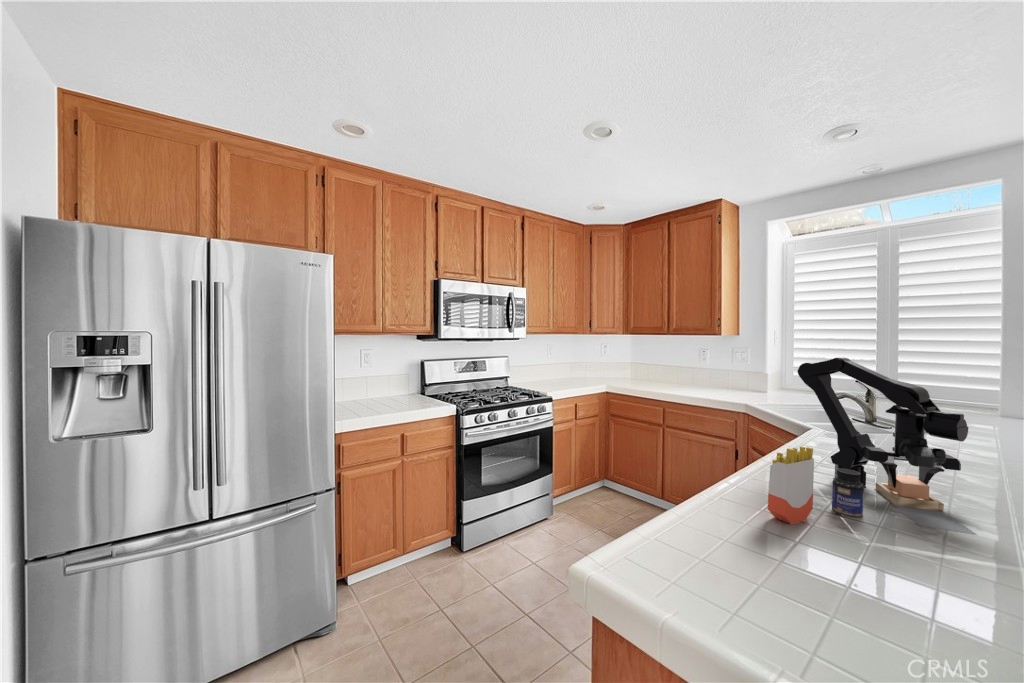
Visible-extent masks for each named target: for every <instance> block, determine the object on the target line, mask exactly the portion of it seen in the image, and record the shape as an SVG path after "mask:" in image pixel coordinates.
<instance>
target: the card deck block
mask: <svg viewBox="0 0 1024 683" xmlns="http://www.w3.org/2000/svg"><path fill="white" fill-rule="evenodd" d="M887 484H888V486H889V487H890V488H892V489H893V490H894V491H896V492H897V493H898V494H900V495H901V496H905V497H913V498H920V499H928V500H929V495H930V485H928V484H927V485H926V484H925V483H923V482H922V481H920V480H919V478H917V477H916V476H913V475H904V474H897V473H896V488H894V487H893V486H892V484H891V482H890V480H889V478H888V477H887Z"/></svg>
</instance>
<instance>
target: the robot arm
mask: <svg viewBox="0 0 1024 683" xmlns="http://www.w3.org/2000/svg"><path fill="white" fill-rule="evenodd" d="M836 373H842V374H845V375H846V376H848V377H850V378H852V379H854V380H856V381H859V382H861V383H862V384H864V385H867V386H869V387H871V388H873V389H875V390H877V391H878V392H880V393H881V394H882V395H883V397H885V398H886V399H888V400H889V401H890V402H892V403H893V405H892V406H891V407H890V408H888V409H886V410H885V413H887V414H891V415H892V414H894V415H895V420H894V422H895V423H894V432H893V433H892V436H893V437H894V446H892V451H891V452H890V451H886V450H884V449H882V448H881V447H876V445H875V444H874V443H873V442H872V440H871V438H870V436H869V434H868V433H861V432H859V431H858V430H857V429H856V428H855V426H854V424H853V422H852V420H851V419H850V417H849V416H848V413H847V412H846V410H845V408H844V407H843V405H842V403H841V401H840V400H839V398H838V396H837V394H836V392H835V391H834V389H833V387H832V376H831V375H832V374H836ZM797 374H798V377H799V378H800V380H801V381H802V382H803V383H804V384H805V385H806V386H807V387H809V388H810V389H811V390H812V391H813V392H814V394H815V396H816V397H817V399H818V401H819V403H820V405H821V406H822V408H823V411H824V412H825V415H826V416H827V418H828V419H829V422H830V423H831V425H832V427H833V429H834V431H835V432H836V436H837V437H836V438H837V439H836V440H837V441H836V442H837V448H838V450H839V451H837V452H836V453H834V454H832V455H831V456H830V459H831V462H832V464H834V477H832V480H833V479H834V478H837V476H838V475H837V474H836V473H837V469H839V468H844V469H850V470H854V471H857V472H859V473H861V479H860V480H859V482H861V483H862V484H863V486H864V489H866V488H867V487H866V485H867V471H866V470H865V466H866V465H867V464H868V462H869V461H870V462H876V463H877V462H878V463H879V464H881V466H882V467H883V469H884V471H885V474H886V475H887V479H888V478H889V480H890V482H891V484H892V486H893V487H894V488H896V474H897V468H898V464H897V463H895V460H897V461H903V462H904V461H905V462H908V464H909V465H911V466H913V467H917V468H918V480H920V481H922V482H923V483H925V484H926V485H928V484H929V483H930V481H931V479H932V478H933V477H934V476H935V475H936V474H938V473H942V472H943V473H944V472H945V470H949V471H958V472H959V471H962V463H961V461H960V459H958V458H957V457H954V456H952V455H949V454H947V453H946V451H945V450H944V449H943V448H936V447H933V448H932V447H931V448H929V446H928V440H927V438H925V433H926V434H928V435H929V436H930V437H935V438H941V439H946V440H951V441H956V442H962V443H963V442H964V441H966V439H967V437H968V434H969V426H968V423H967V420H965V414H964V413H957V412H955V413H951V412H944V411H942V410H940V408H939V407H938V406H937V405H936V403H934V402H933V400H932V399H931V398H930V394H929V391H928V390H927V389H926V388H925V387H922V386H920V385H915V384H912V383H909V382H906V381H900V380H896V379H892V378H890V377H888V376H885V375H883V374H881V373H879V372H877V371H874V370H873V369H870V368H867V367H865V366H864V365H861V364H859V363H858V362H855V361H852V360H851V359H849V358H848V357H834V358H831V359H829V360H824V361H819V362H804V363H801V364H800V365H799V367H798V369H797Z"/></svg>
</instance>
